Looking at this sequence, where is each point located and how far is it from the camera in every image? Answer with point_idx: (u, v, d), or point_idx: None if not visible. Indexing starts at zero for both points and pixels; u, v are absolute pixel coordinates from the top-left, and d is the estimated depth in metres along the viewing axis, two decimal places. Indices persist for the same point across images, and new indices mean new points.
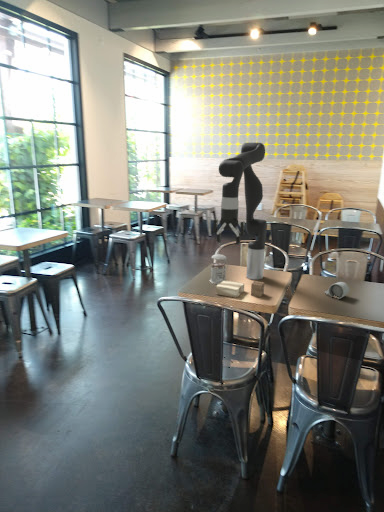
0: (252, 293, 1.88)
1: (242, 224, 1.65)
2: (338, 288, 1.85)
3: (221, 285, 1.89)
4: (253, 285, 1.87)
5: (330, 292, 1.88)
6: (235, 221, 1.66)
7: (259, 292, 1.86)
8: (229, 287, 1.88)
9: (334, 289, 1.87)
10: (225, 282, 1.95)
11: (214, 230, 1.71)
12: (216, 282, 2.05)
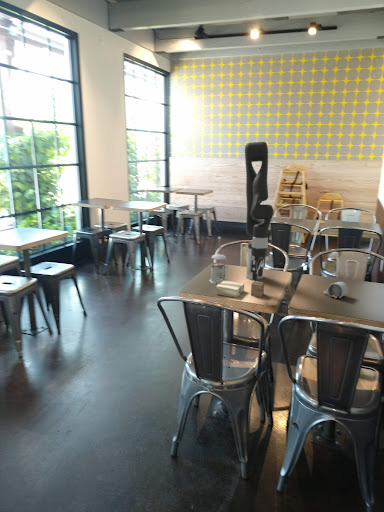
0: (252, 293, 1.88)
1: (264, 257, 1.90)
2: (337, 287, 1.86)
3: (221, 285, 1.89)
4: (253, 285, 1.87)
5: (329, 292, 1.89)
6: (262, 256, 1.87)
7: (259, 292, 1.86)
8: (229, 287, 1.88)
9: (333, 289, 1.87)
10: (225, 282, 1.95)
11: (256, 270, 1.80)
12: (216, 282, 2.05)
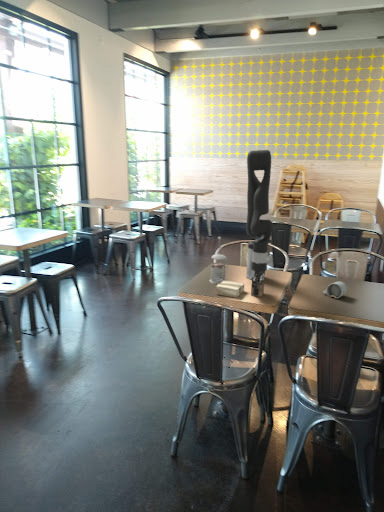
0: (252, 293, 1.88)
1: None
2: (336, 287, 1.86)
3: (221, 285, 1.89)
4: None
5: (328, 292, 1.89)
6: None
7: (259, 292, 1.86)
8: (229, 287, 1.88)
9: (332, 289, 1.88)
10: (225, 282, 1.95)
11: (257, 286, 1.84)
12: (216, 282, 2.05)
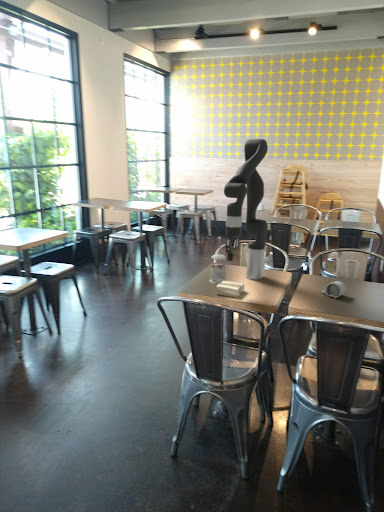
0: (226, 258, 1.86)
1: (239, 239, 1.90)
2: (335, 287, 1.86)
3: (221, 285, 1.89)
4: None
5: (327, 291, 1.89)
6: (237, 236, 1.87)
7: (233, 257, 1.84)
8: (229, 287, 1.88)
9: (331, 288, 1.88)
10: (225, 282, 1.95)
11: (231, 250, 1.81)
12: (216, 282, 2.05)
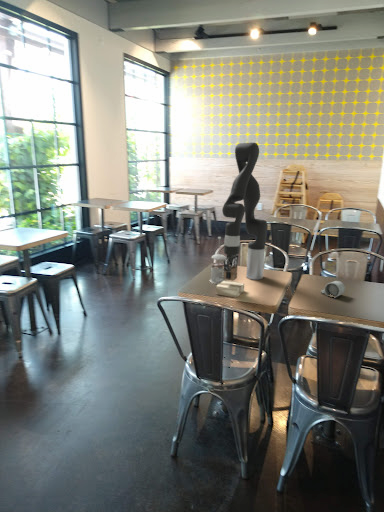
0: (225, 277, 1.89)
1: (237, 257, 1.93)
2: (334, 287, 1.87)
3: (221, 285, 1.89)
4: None
5: (326, 291, 1.90)
6: (235, 254, 1.90)
7: (232, 276, 1.87)
8: (229, 287, 1.88)
9: (330, 288, 1.88)
10: (225, 282, 1.95)
11: (229, 269, 1.84)
12: (216, 282, 2.05)
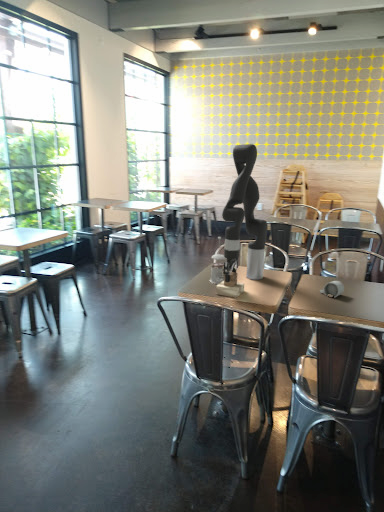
0: (225, 283, 1.90)
1: (238, 258, 1.93)
2: (333, 286, 1.87)
3: (221, 285, 1.89)
4: None
5: (325, 291, 1.90)
6: None
7: (232, 282, 1.88)
8: (229, 287, 1.88)
9: (329, 288, 1.89)
10: None
11: (228, 272, 1.83)
12: (216, 282, 2.05)
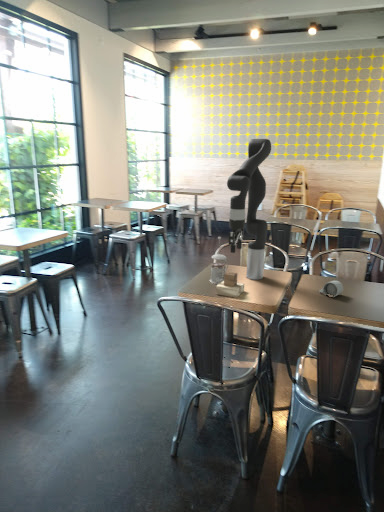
0: (225, 283, 1.90)
1: (243, 229, 1.90)
2: (332, 286, 1.87)
3: (221, 285, 1.89)
4: (226, 275, 1.88)
5: (324, 290, 1.90)
6: (241, 228, 1.87)
7: (232, 282, 1.88)
8: (229, 287, 1.88)
9: (328, 288, 1.89)
10: None
11: (234, 242, 1.80)
12: (216, 282, 2.05)
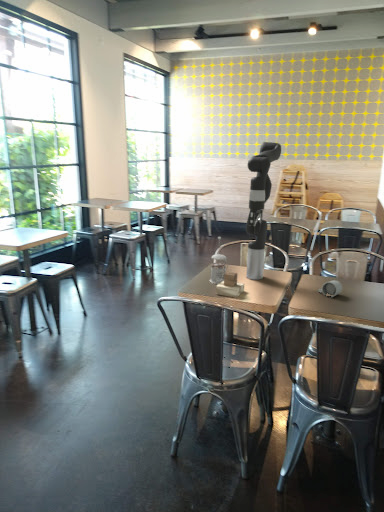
0: (225, 283, 1.90)
1: (262, 211, 1.92)
2: (331, 286, 1.88)
3: (221, 285, 1.89)
4: (226, 275, 1.88)
5: (323, 290, 1.91)
6: (260, 210, 1.89)
7: (232, 282, 1.88)
8: (229, 287, 1.88)
9: (327, 287, 1.89)
10: None
11: (253, 223, 1.82)
12: (216, 282, 2.05)
